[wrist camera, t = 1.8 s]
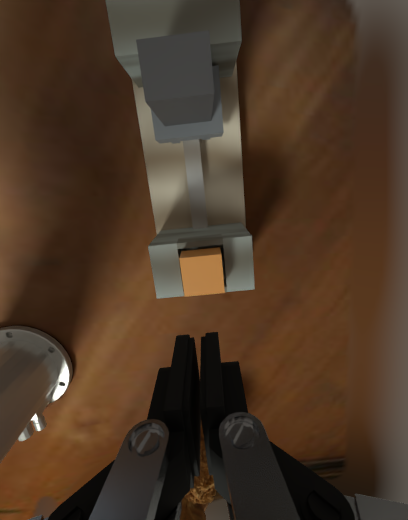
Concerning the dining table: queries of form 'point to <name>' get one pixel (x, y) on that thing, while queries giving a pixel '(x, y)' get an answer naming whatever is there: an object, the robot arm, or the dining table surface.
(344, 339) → the dining table surface
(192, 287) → the button
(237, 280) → the grey block assembly
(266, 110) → the dining table surface
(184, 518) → the stuffed squirrel
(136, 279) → the dining table surface
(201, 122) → the block
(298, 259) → the dining table surface
